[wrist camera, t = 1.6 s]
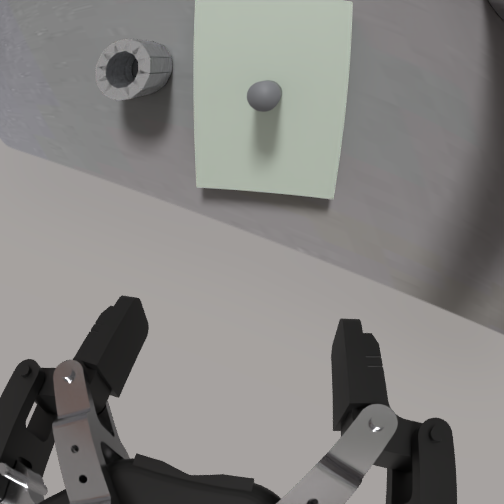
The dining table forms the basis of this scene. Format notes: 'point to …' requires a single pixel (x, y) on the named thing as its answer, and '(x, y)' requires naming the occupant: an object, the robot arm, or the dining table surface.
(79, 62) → the dining table surface
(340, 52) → the post base
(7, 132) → the dining table surface
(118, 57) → the cylinder
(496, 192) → the dining table surface
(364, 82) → the dining table surface
